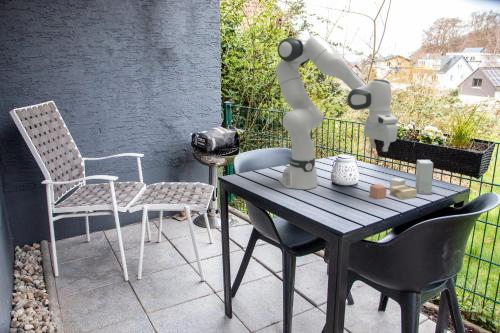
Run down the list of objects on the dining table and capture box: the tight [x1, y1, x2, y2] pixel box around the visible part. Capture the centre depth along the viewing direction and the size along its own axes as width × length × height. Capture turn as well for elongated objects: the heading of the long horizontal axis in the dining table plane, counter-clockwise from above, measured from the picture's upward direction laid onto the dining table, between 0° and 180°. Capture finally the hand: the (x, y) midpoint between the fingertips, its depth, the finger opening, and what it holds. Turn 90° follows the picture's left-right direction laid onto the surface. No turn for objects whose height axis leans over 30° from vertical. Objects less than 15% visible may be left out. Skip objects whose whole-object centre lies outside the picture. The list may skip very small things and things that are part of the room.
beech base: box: [389, 184, 418, 201], centre depth 173 cm, size 8×8×4 cm
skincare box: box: [414, 159, 434, 195], centre depth 177 cm, size 8×6×15 cm
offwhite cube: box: [389, 177, 406, 188], centre depth 183 cm, size 5×5×5 cm
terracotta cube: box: [369, 184, 387, 200], centre depth 172 cm, size 5×5×5 cm
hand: (378, 149), depth 165 cm, fingers open, 8 cm apart
